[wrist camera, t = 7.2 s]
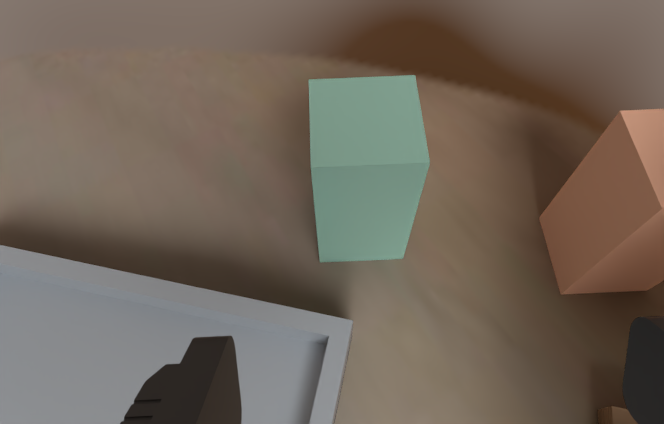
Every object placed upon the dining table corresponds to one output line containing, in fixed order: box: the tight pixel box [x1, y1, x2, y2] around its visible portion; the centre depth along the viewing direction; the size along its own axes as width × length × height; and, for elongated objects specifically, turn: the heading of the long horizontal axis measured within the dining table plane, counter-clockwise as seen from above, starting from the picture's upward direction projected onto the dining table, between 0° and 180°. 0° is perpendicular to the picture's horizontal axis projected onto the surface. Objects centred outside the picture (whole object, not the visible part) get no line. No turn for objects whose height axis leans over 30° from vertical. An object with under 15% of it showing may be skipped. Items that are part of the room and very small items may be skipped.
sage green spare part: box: [309, 75, 430, 262], centre depth 26 cm, size 5×5×10 cm
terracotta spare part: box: [539, 109, 664, 294], centre depth 25 cm, size 5×5×10 cm
